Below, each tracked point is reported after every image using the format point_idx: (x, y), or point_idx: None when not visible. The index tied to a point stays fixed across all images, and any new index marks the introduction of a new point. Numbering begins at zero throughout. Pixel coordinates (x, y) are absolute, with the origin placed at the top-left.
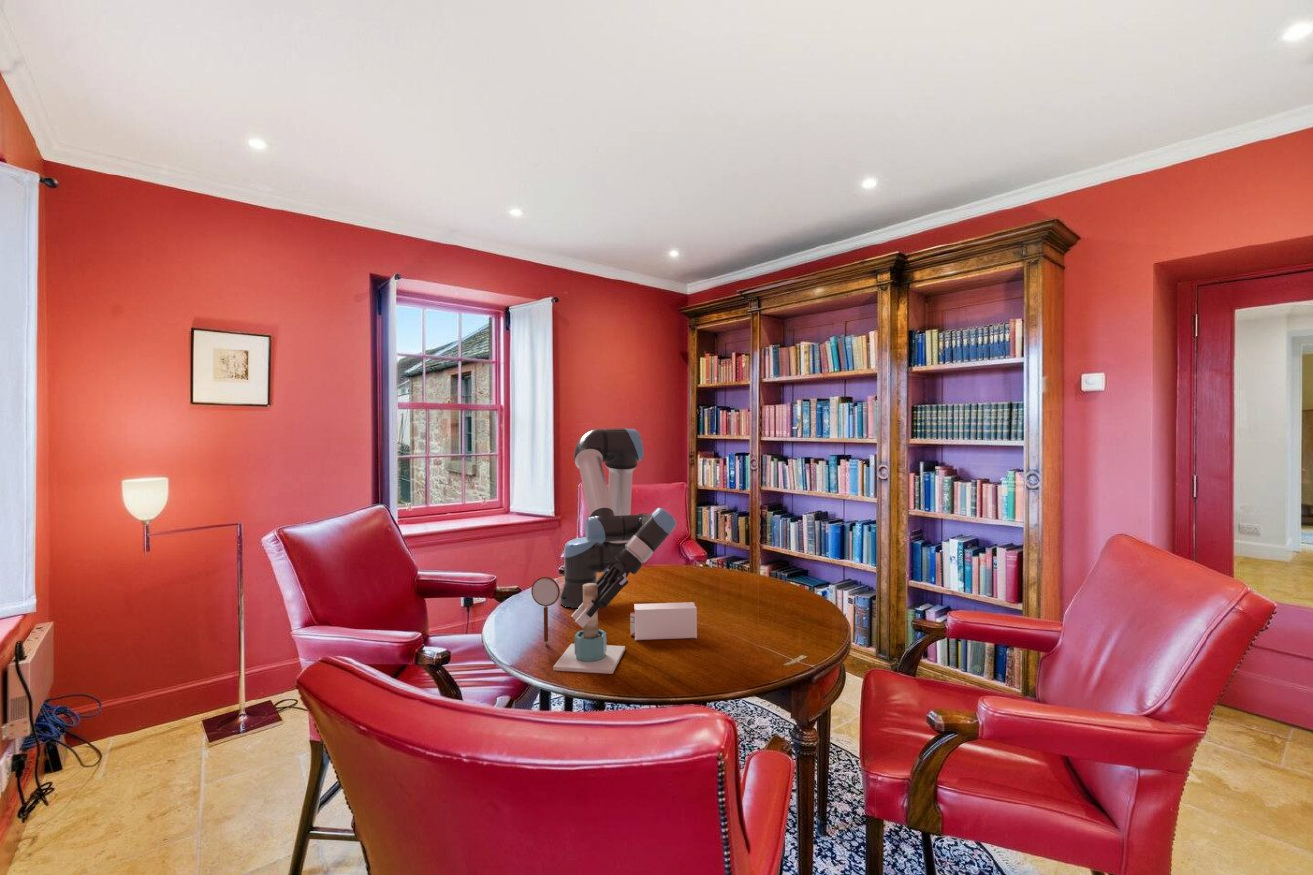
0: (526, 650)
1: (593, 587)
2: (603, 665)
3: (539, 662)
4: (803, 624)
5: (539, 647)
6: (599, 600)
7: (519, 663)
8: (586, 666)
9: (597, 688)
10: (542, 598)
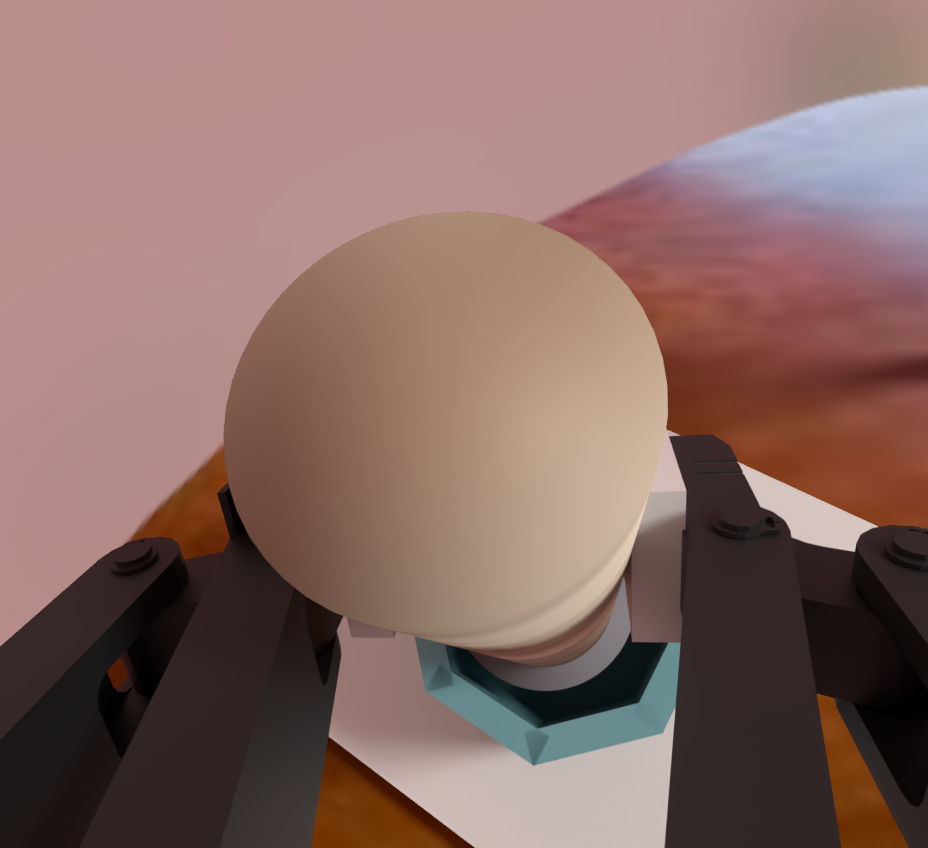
0: (873, 237)
1: (241, 459)
2: (361, 651)
3: (637, 297)
4: None
5: (913, 316)
6: (113, 579)
7: (662, 198)
8: None
9: None
10: None
